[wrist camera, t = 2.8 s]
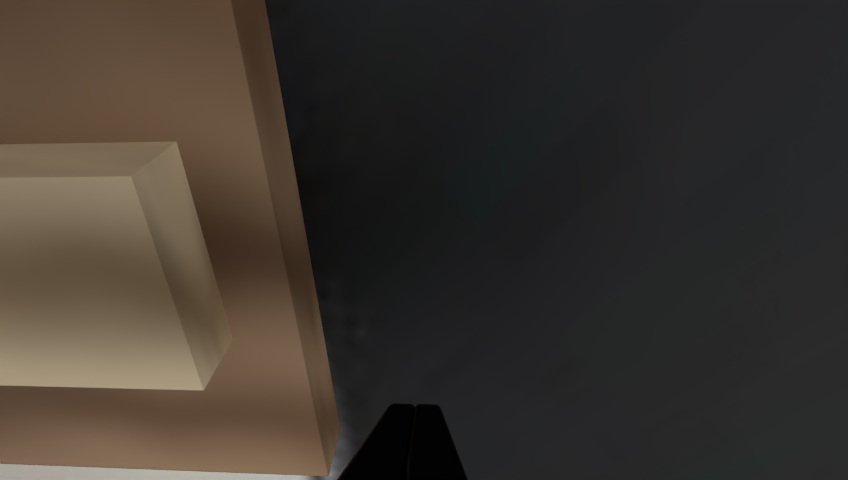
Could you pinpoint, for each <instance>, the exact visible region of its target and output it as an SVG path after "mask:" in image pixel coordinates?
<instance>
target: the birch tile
mask: <svg viewBox="0 0 848 480" xmlns="http://www.w3.org/2000/svg"><path fill="white" fill-rule="evenodd" d="M232 340H233V338H232V335H231V331H230V328H229V324H228V321H227V317H226V314H225V310H224V307H223V303H222V300H221V296H220V293H219V289H218V286H217V282H216V279H215V275H214V272H213V268H212V265H211V261H210V258H209V254H208V251H207V247H206V244H205V240H204V237H203V233H202V230H201V226H200V222H199V219H198V215H197V212H196V208H195V205H194V201H193V198H192V194H191V191H190V187H189V184H188V180H187V177H186V173H185V170H184V166H183V163H182V159H181V156H180V152H179V149H178V145H177V142H176V141H174V142H114V143H54V144H0V385H4V386H43V387H83V388H123V389H162V390H202V391H204V389H205V387H206V386H207V384H208V382H209V380H210V379H211V377H212V375H213V373H214V372H215V370H216V368H217V366H218V364H219V363H220V361H221V359H222V357H223V356H224V354H225V352H226V350H227V349H228V347H229V345H230V343H231V341H232Z"/></svg>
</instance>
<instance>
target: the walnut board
mask: <svg viewBox="0 0 848 480" xmlns="http://www.w3.org/2000/svg"><path fill="white" fill-rule="evenodd" d="M174 141H176V142H177V145H178V149H179V152H180V156H181V159H182V163H183V166H184V170H185V173H186V177H187V180H188V184H189V187H190V191H191V194H192V198H193V201H194V205H195V208H196V212H197V215H198V219H199V222H200V226H201V230H202V233H203V237H204V240H205V244H206V247H207V251H208V254H209V258H210V261H211V265H212V268H213V272H214V275H215V279H216V282H217V286H218V289H219V293H220V296H221V300H222V303H223V307H224V310H225V314H226V317H227V321H228V324H229V328H230V331H231V335H232V338H233V340H232V341H231V343H230V345H229V347H228V349H227V350H226V352H225V354H224V356H223V357H222V359H221V361H220V363H219V364H218V366H217V368H216V370H215V372H214V373H213V375H212V377H211V379H210V380H209V382H208V384H207V386H206V387H205V389H204V391H202V390H162V389H123V388H83V387H43V386H4V385H0V463H1V464H24V465H50V466H76V467H101V468H127V469H153V470H179V471H204V472H230V473H256V474H282V475H307V476H328V475H329V471H330V467H331V464H332V460H333V456H334V452H335V448H336V444H337V440H338V436H339V433H340V424H339V419H338V413H337V407H336V402H335V396H334V390H333V385H332V379H331V373H330V368H329V362H328V356H327V351H326V345H325V339H324V334H323V328H322V322H321V317H320V311H319V305H318V299H317V294H316V288H315V282H314V277H313V271H312V265H311V260H310V254H309V248H308V243H307V237H306V231H305V226H304V220H303V214H302V209H301V203H300V197H299V192H298V186H297V180H296V175H295V169H294V163H293V158H292V152H291V146H290V141H289V135H288V129H287V124H286V118H285V112H284V107H283V101H282V95H281V89H280V84H279V78H278V72H277V67H276V61H275V55H274V50H273V44H272V38H271V33H270V27H269V21H268V16H267V10H266V4H265V0H0V144H54V143H114V142H174Z"/></svg>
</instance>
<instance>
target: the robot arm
mask: <svg viewBox="0 0 848 480" xmlns="http://www.w3.org/2000/svg"><path fill="white" fill-rule="evenodd" d="M337 480H467V477H466V474H465V472H464V469H463V466H462V464H461V461H460V458H459V456H458V453H457V450H456V448H455V445H454V442H453V440H452V437H451V434H450V432H449V429H448V426H447V424H446V421H445V418H444V416H443V413H442V410H441V408H440V407H439V406H438V405H432V404H418V405H417V406H416V407H414V405H412V404H391V405H390V406H389V407H388V408H387V410H386V411H385V412H384V414H383V415H382V417H381V418H380V420H379V421H378V422H377V424H376V425H375V427H374V428H373V429H372V431H371V432H370V434H369V435H368V437H367V438H366V439H365V441H364V442H363V444H362V445H361V446H360V448H359V449H358V451H357V452H356V454H355V455H354V456H353V458H352V459H351V461H350V462H349V463H348V465H347V466H346V468H345V469H344V471H343V472H342V473H341V475H340V476H339V478H338V479H337Z"/></svg>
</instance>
